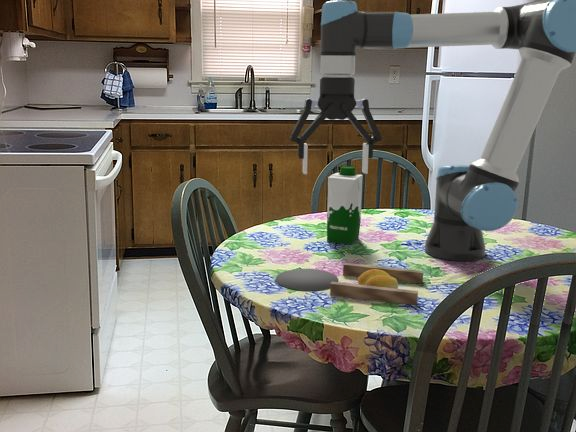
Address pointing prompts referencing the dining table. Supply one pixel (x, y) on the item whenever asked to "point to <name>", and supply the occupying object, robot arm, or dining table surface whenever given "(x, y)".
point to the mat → (306, 279)
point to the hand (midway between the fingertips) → (334, 173)
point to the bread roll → (377, 279)
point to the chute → (375, 291)
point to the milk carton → (344, 206)
